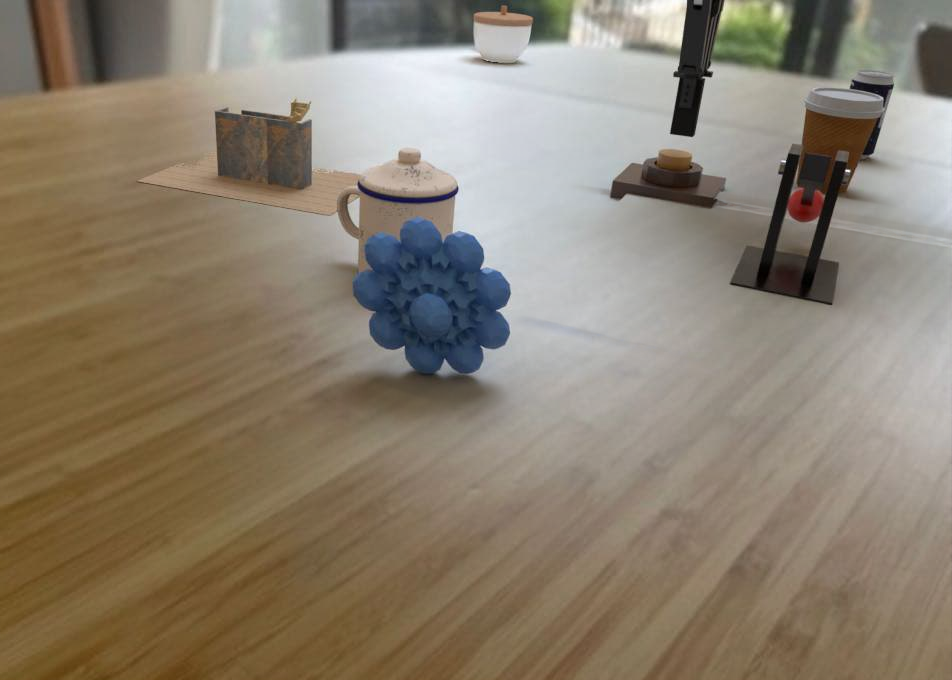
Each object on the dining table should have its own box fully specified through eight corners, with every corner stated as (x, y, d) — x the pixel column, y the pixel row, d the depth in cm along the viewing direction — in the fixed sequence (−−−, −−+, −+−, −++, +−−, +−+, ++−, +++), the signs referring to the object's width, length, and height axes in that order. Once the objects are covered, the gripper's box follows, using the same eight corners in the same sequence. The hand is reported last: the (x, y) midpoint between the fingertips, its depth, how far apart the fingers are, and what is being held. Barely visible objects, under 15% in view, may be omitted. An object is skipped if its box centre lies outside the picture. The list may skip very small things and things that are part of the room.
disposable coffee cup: (784, 191, 117) (808, 96, 111) (782, 173, 125) (805, 83, 119) (862, 202, 115) (892, 105, 109) (856, 183, 123) (883, 91, 117)
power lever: (782, 222, 96) (791, 189, 96) (818, 229, 94) (827, 195, 94) (788, 183, 82) (799, 144, 82) (830, 189, 81) (841, 151, 81)
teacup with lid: (468, 270, 87) (478, 148, 81) (421, 300, 80) (429, 170, 74) (363, 243, 92) (366, 127, 86) (310, 269, 85) (310, 145, 79)
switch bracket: (744, 255, 95) (774, 132, 89) (835, 273, 92) (873, 146, 85) (727, 294, 85) (759, 158, 79) (828, 315, 82) (871, 175, 76)
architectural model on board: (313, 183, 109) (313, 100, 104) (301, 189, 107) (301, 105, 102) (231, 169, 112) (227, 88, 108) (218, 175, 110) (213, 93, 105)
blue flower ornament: (342, 394, 65) (345, 233, 59) (354, 352, 70) (358, 202, 65) (505, 407, 64) (524, 247, 58) (504, 364, 70) (521, 214, 64)
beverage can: (843, 149, 140) (865, 68, 134) (878, 157, 136) (903, 74, 131) (824, 153, 137) (847, 70, 131) (860, 162, 133) (885, 77, 127)
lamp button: (692, 166, 112) (695, 152, 111) (686, 173, 108) (689, 159, 107) (659, 161, 113) (662, 147, 112) (653, 168, 110) (655, 154, 109)
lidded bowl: (499, 54, 204) (504, 1, 199) (540, 63, 196) (546, 8, 191) (458, 57, 197) (462, 3, 192) (499, 67, 189) (504, 10, 183)
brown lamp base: (722, 195, 114) (729, 163, 112) (709, 216, 106) (717, 182, 104) (628, 179, 118) (634, 148, 117) (609, 198, 110) (615, 165, 109)
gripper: (697, -89, 104) (662, 120, 115) (675, -90, 93) (639, 140, 105) (765, -86, 101) (722, 128, 112) (751, -87, 91) (705, 149, 102)
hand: (682, 134), depth 108 cm, fingers closed
